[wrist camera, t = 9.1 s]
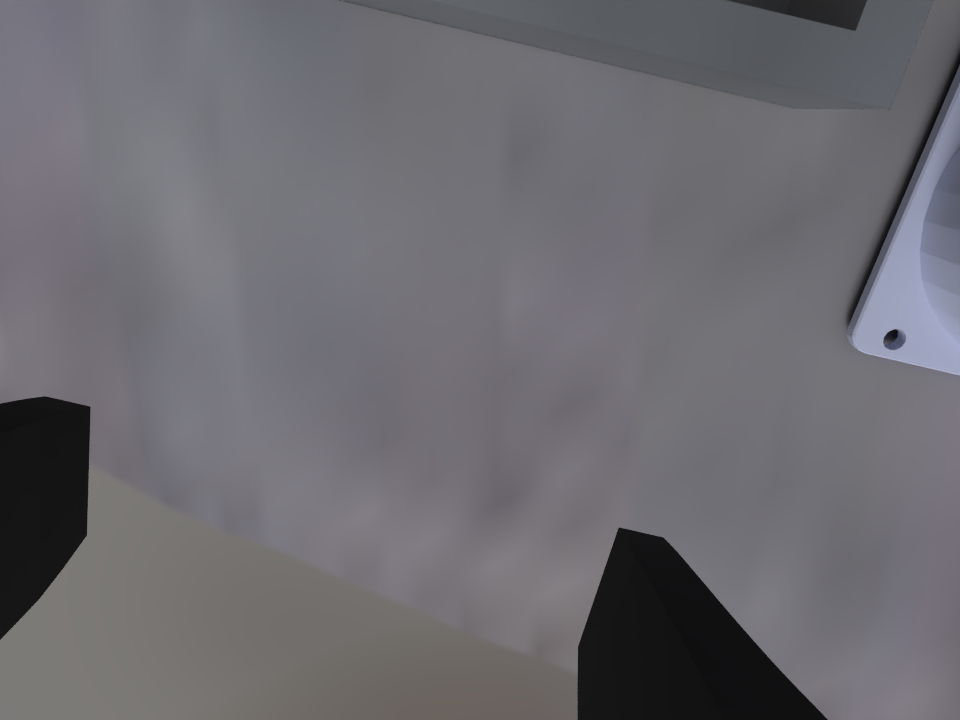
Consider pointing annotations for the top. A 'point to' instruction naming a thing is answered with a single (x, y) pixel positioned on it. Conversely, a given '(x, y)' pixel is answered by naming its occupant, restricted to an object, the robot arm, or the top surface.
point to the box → (714, 41)
